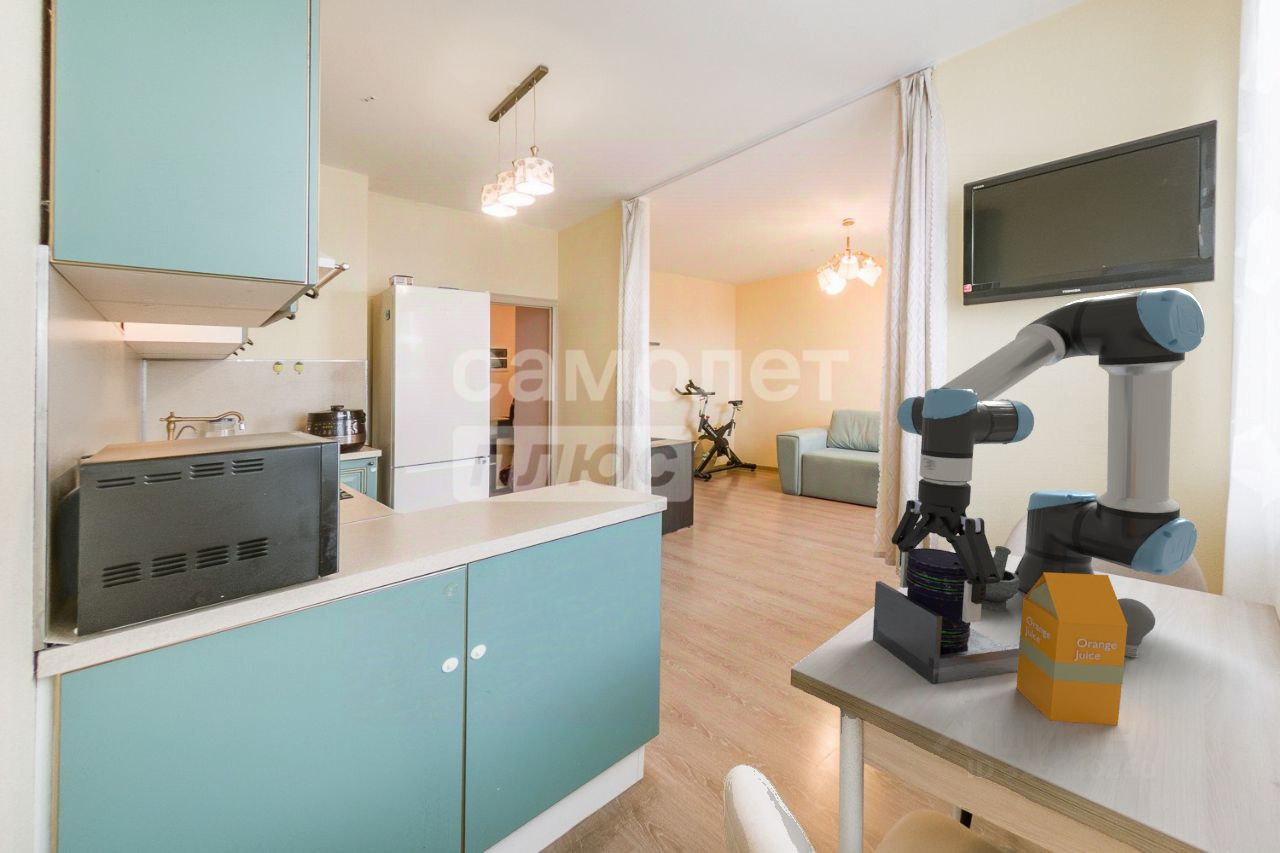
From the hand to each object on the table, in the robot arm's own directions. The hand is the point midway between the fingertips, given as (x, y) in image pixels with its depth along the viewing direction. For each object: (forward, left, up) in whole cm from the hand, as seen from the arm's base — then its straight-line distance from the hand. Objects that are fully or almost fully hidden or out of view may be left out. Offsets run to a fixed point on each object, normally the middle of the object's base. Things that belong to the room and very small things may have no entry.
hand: (936, 602), depth 86 cm
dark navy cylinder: (0, 0, -7) cm, 7 cm away
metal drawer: (-2, 0, -10) cm, 10 cm away
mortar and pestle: (-28, -15, -10) cm, 33 cm away
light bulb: (-33, +7, -10) cm, 35 cm away
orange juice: (-8, +16, -10) cm, 20 cm away
